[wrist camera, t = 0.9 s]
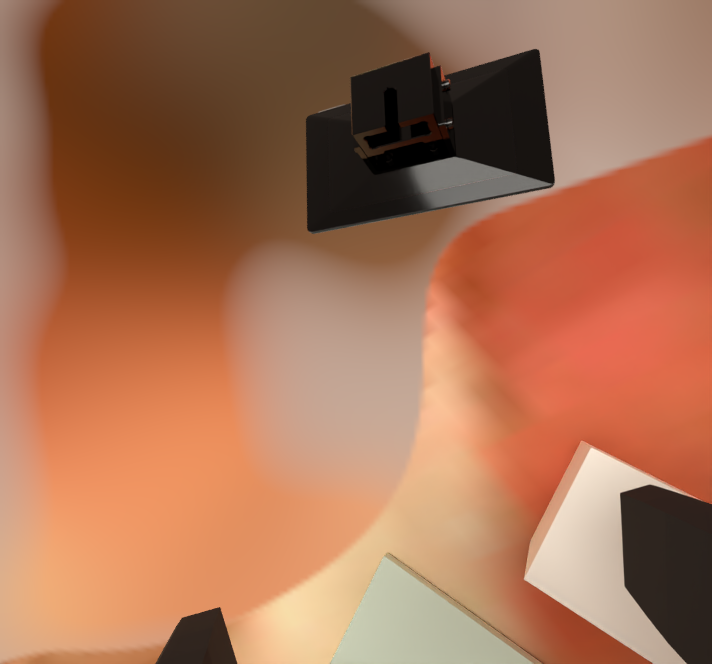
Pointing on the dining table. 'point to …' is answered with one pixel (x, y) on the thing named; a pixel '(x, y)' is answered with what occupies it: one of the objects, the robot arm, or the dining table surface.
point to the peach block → (594, 550)
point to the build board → (419, 626)
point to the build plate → (428, 141)
